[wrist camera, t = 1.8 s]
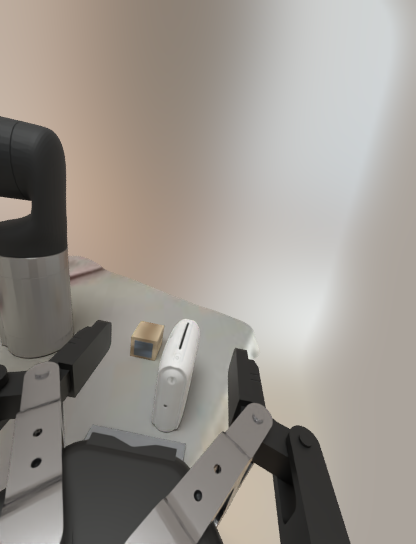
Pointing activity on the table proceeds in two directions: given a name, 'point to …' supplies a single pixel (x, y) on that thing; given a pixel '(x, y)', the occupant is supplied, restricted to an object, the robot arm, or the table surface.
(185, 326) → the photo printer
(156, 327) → the wooden block
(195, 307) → the table surface
